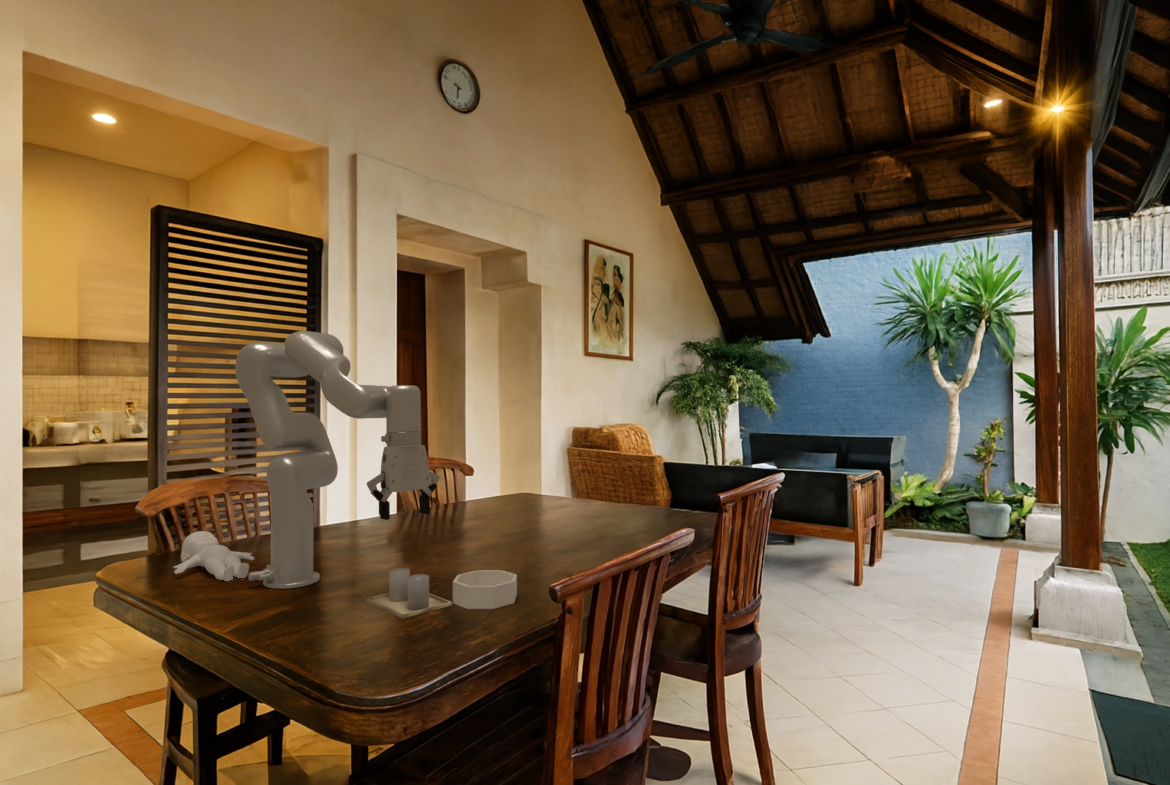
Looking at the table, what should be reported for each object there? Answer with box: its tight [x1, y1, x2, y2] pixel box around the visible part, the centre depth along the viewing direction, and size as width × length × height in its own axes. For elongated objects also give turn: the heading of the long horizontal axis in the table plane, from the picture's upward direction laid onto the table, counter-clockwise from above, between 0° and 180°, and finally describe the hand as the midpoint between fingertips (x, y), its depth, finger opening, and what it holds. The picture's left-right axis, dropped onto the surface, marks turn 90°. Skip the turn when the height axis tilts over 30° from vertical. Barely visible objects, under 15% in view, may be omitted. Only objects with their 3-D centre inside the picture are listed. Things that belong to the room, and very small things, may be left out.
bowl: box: [452, 569, 518, 610], centre depth 142 cm, size 13×13×5 cm
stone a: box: [388, 566, 411, 602], centre depth 142 cm, size 4×4×6 cm
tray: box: [364, 592, 454, 619], centre depth 139 cm, size 12×16×1 cm
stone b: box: [408, 573, 430, 610], centre depth 137 cm, size 4×4×6 cm
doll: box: [172, 530, 256, 582], centre depth 168 cm, size 19×9×30 cm
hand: (405, 516), depth 144 cm, fingers open, 9 cm apart
